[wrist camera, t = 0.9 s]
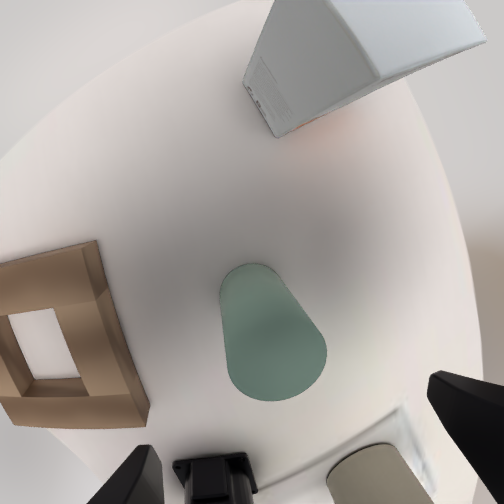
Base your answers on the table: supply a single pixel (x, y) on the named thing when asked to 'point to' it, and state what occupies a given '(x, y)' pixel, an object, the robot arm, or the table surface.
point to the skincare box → (348, 52)
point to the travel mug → (376, 479)
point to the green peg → (268, 336)
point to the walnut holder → (69, 345)
